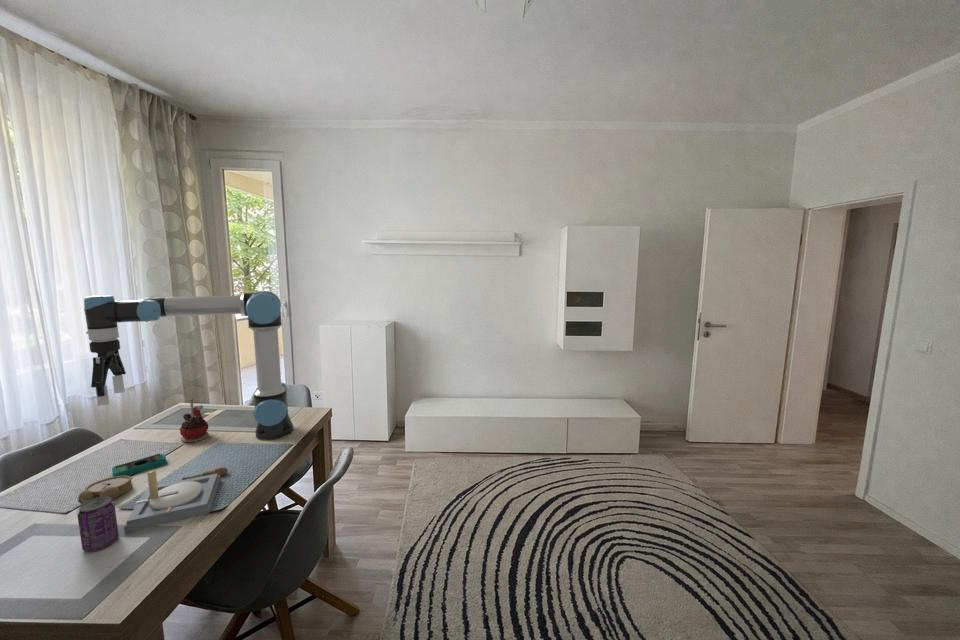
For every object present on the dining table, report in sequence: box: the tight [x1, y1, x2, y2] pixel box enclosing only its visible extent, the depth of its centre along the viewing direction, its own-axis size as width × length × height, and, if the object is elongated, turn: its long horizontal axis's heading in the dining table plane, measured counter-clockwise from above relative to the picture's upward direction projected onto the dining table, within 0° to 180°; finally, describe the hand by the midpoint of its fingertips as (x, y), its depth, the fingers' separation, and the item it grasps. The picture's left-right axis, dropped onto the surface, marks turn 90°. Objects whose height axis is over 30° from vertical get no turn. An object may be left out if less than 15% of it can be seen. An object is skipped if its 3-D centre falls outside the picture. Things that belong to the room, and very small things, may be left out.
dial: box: [146, 469, 202, 510], centre depth 121 cm, size 13×13×10 cm
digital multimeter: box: [111, 453, 167, 477], centre depth 142 cm, size 7×15×3 cm, turn 140°
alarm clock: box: [77, 475, 133, 505], centre depth 125 cm, size 11×5×15 cm
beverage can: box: [77, 497, 120, 552], centre depth 103 cm, size 7×7×12 cm
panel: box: [123, 473, 221, 533], centre depth 122 cm, size 20×20×3 cm
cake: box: [179, 398, 209, 443], centre depth 165 cm, size 11×9×18 cm
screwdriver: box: [181, 466, 228, 480], centre depth 136 cm, size 13×3×3 cm, turn 116°
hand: (112, 398), depth 136 cm, fingers open, 13 cm apart
